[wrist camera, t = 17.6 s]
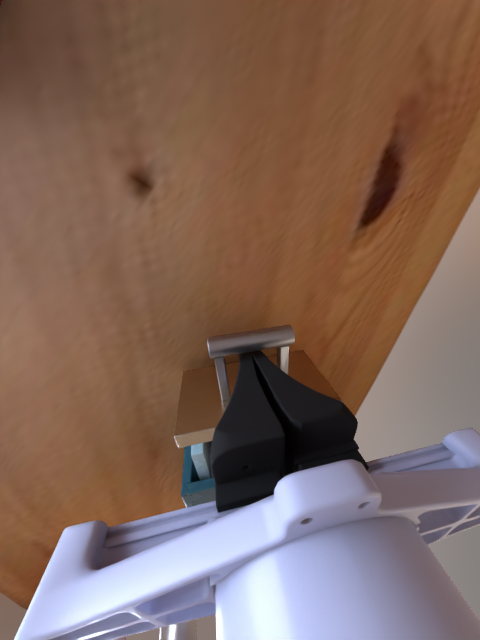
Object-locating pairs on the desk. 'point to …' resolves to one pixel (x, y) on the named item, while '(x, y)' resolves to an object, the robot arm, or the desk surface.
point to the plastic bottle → (179, 631)
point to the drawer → (219, 381)
